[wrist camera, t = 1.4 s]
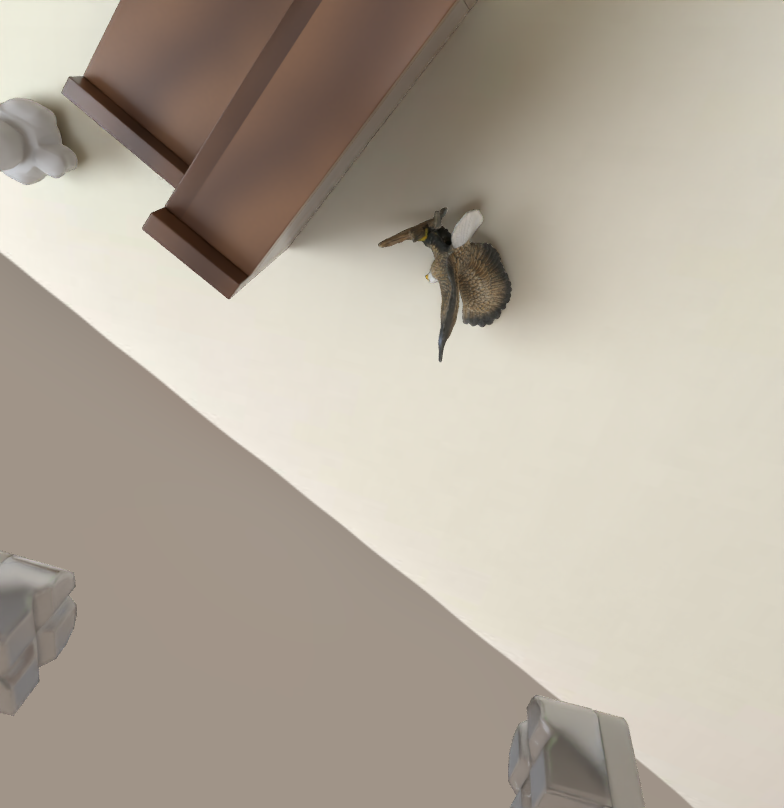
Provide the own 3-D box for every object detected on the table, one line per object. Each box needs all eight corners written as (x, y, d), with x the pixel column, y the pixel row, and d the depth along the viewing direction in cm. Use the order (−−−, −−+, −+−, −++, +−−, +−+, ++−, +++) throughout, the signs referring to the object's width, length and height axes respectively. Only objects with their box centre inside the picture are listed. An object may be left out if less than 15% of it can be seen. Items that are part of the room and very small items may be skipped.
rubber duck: (11, 78, 44) (-81, 81, 37) (101, 127, 44) (26, 139, 37) (-1, 152, 46) (-90, 168, 39) (84, 198, 47) (11, 221, 40)
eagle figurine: (363, 254, 44) (422, 366, 46) (389, 232, 38) (458, 365, 39) (452, 206, 46) (507, 317, 48) (494, 177, 39) (556, 307, 41)
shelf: (100, 90, 43) (-21, 98, 33) (266, -234, 34) (169, -358, 24) (287, 249, 46) (228, 300, 36) (483, -8, 37) (478, -35, 27)
